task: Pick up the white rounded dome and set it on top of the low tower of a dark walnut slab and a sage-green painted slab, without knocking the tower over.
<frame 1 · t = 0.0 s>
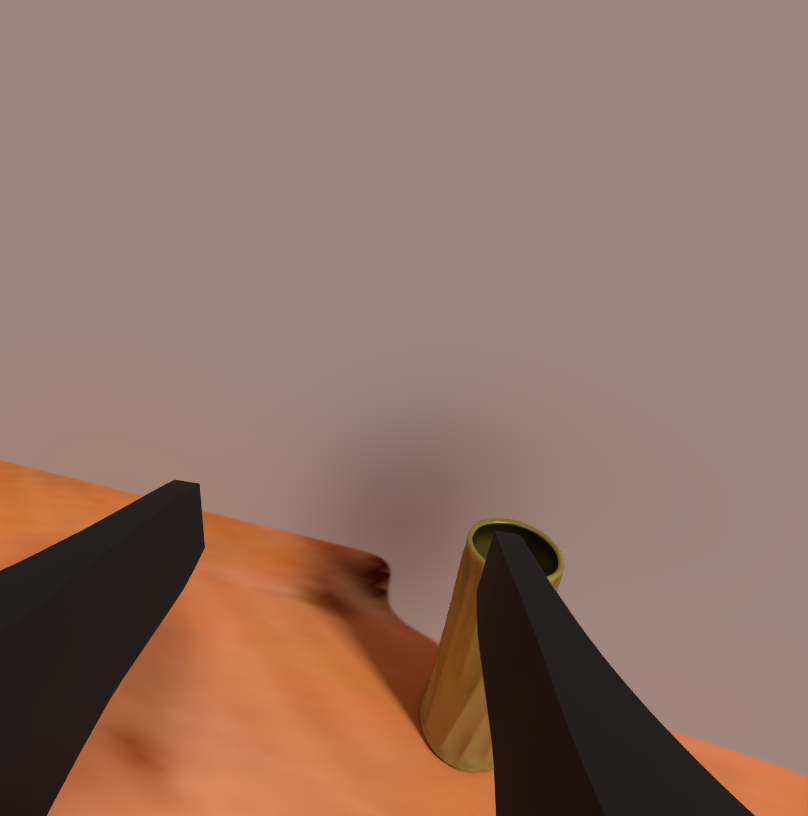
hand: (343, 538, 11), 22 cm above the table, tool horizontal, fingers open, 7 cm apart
vase: (464, 723, 29), on the table
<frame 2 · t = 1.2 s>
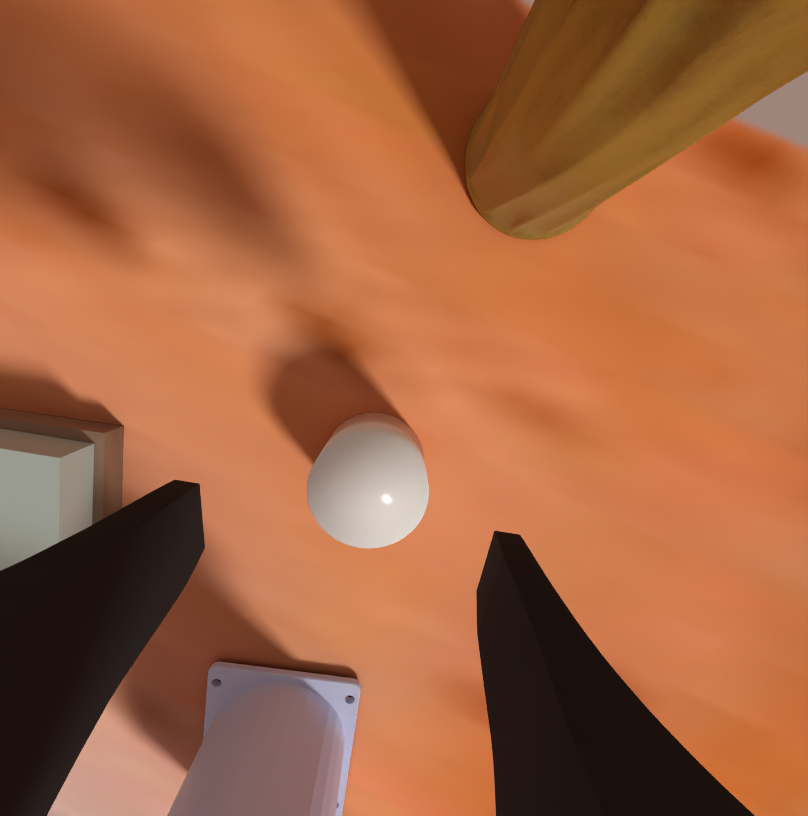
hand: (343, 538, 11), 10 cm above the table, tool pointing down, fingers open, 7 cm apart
tower base: (49, 487, 22), on the table, touching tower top
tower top: (14, 503, 20), point 1 cm above the table, touching tower base
white rounded dome: (374, 460, 21), on the table
vase: (534, 166, 19), on the table
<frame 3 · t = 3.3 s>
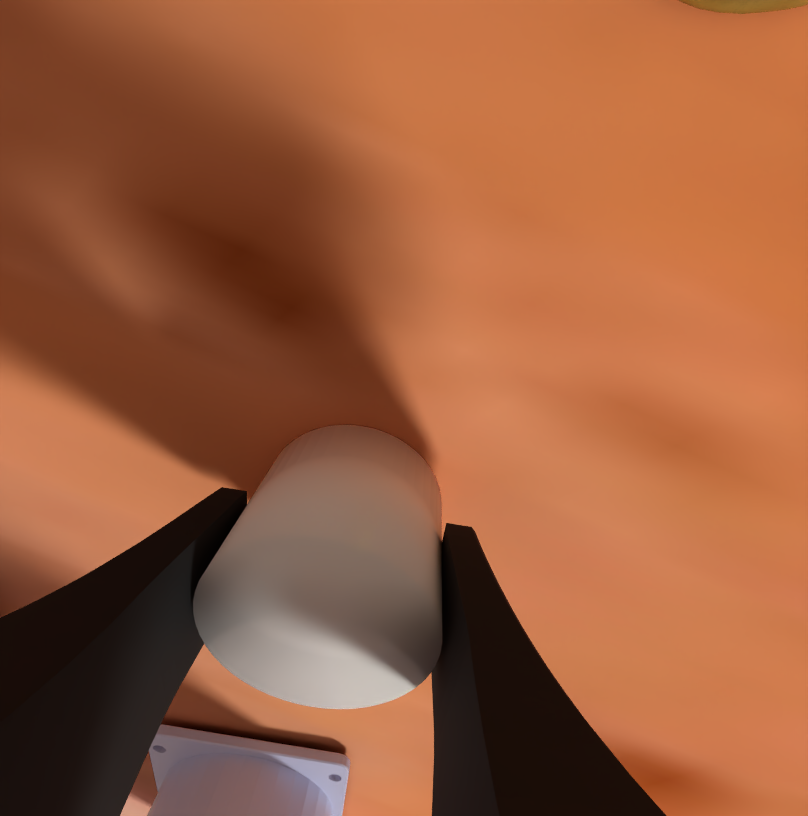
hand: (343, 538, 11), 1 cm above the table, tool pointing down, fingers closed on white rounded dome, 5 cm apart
white rounded dome: (353, 502, 12), on the table, touching gripper
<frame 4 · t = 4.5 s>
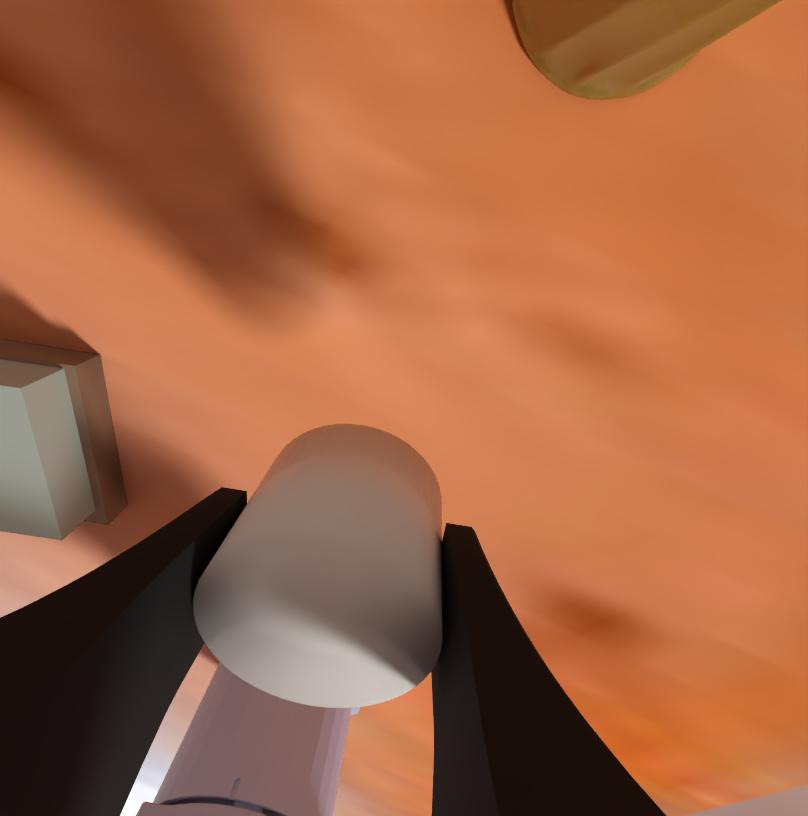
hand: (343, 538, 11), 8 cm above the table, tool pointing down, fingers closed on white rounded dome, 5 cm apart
tower base: (40, 417, 20), on the table, touching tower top
white rounded dome: (353, 501, 12), point 7 cm above the table, touching gripper
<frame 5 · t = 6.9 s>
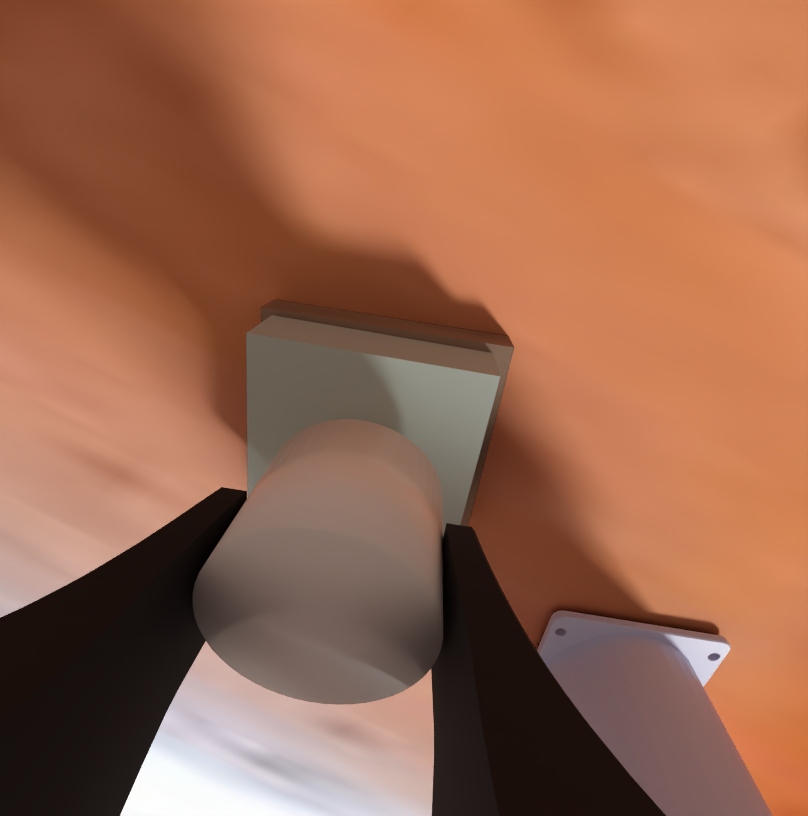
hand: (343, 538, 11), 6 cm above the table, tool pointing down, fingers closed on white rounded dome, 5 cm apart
tower base: (380, 413, 17), on the table
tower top: (369, 430, 15), point 1 cm above the table
white rounded dome: (354, 497, 12), point 5 cm above the table, touching gripper
when the fingers open (6 cm above the table, at t = 6.9 s): white rounded dome drops 2 cm, resting on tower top.
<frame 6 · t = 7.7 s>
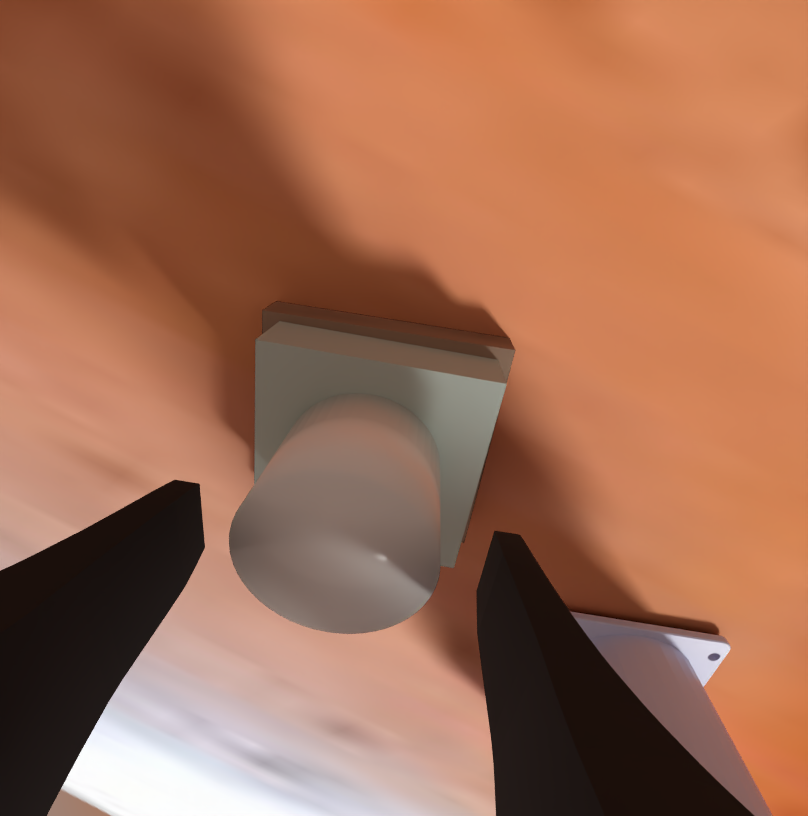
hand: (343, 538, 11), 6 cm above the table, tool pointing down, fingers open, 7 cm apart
tower base: (381, 414, 17), on the table, touching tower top
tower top: (374, 435, 15), point 1 cm above the table, touching white rounded dome, tower base
white rounded dome: (362, 464, 13), point 3 cm above the table, touching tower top
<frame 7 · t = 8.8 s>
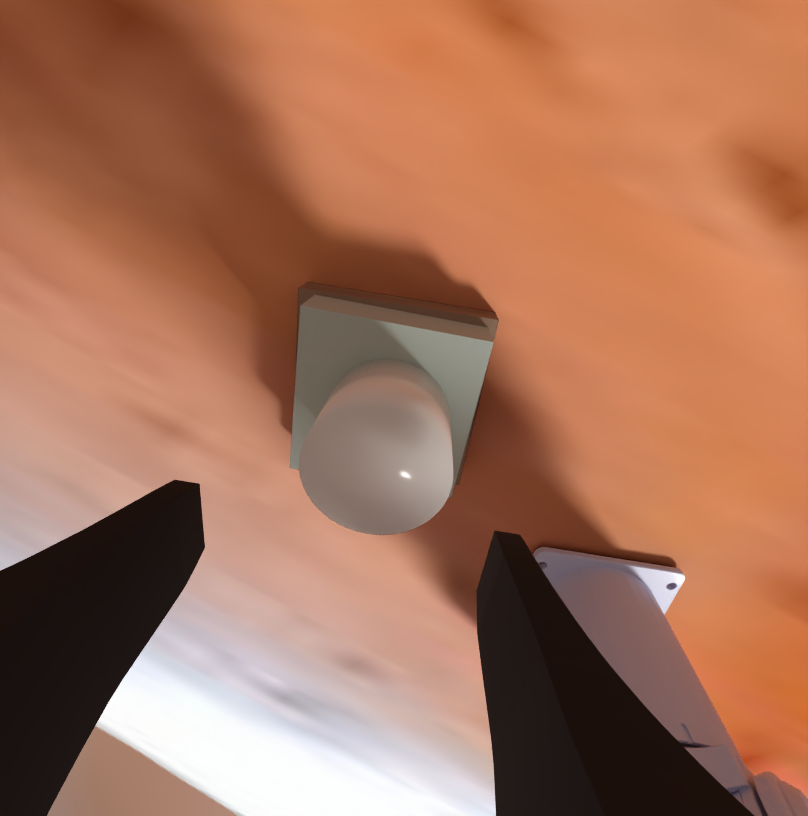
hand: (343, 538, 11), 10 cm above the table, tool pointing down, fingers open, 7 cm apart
tower base: (390, 378, 21), on the table
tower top: (388, 390, 19), point 1 cm above the table, touching white rounded dome
white rounded dome: (388, 417, 17), point 3 cm above the table, touching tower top
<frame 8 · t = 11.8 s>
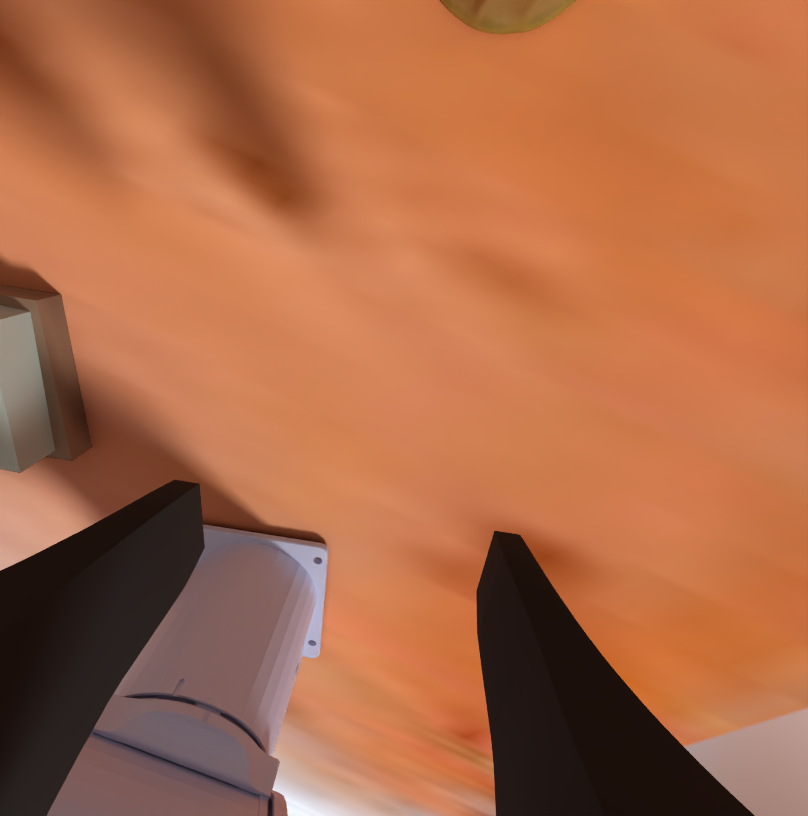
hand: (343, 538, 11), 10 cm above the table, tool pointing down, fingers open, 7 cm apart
tower base: (8, 359, 22), on the table, touching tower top
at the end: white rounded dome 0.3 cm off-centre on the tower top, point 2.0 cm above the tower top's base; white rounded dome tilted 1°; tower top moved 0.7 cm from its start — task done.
